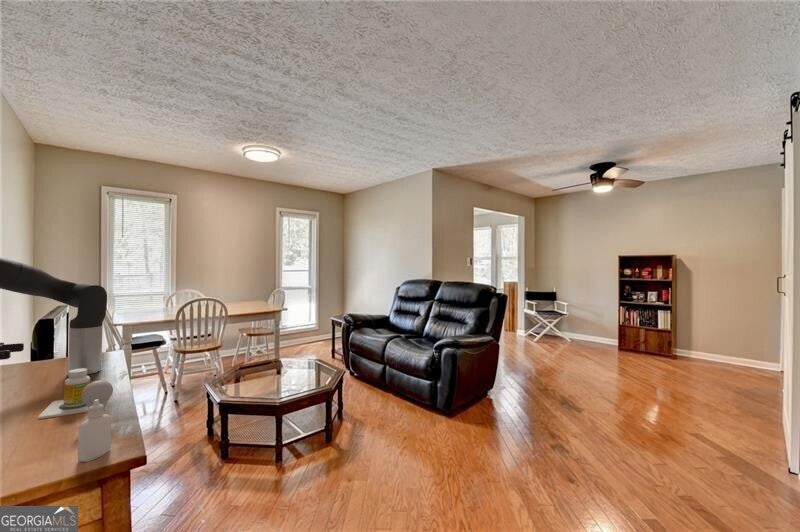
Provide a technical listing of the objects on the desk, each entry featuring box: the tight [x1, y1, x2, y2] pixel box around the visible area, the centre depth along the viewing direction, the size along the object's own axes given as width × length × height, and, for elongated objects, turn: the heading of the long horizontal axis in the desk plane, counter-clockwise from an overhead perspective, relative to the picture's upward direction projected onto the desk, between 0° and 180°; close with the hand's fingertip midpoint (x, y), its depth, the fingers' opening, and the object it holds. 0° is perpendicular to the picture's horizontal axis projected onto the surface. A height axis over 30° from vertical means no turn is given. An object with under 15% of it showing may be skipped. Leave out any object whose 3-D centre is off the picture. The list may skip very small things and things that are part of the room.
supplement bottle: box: [63, 368, 91, 407], centre depth 97 cm, size 5×5×10 cm
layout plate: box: [37, 399, 89, 420], centre depth 98 cm, size 12×13×1 cm
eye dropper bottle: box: [77, 399, 112, 463], centre depth 73 cm, size 4×6×12 cm
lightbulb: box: [82, 379, 114, 414], centre depth 88 cm, size 6×6×11 cm
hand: (16, 350), depth 93 cm, fingers open, 8 cm apart
